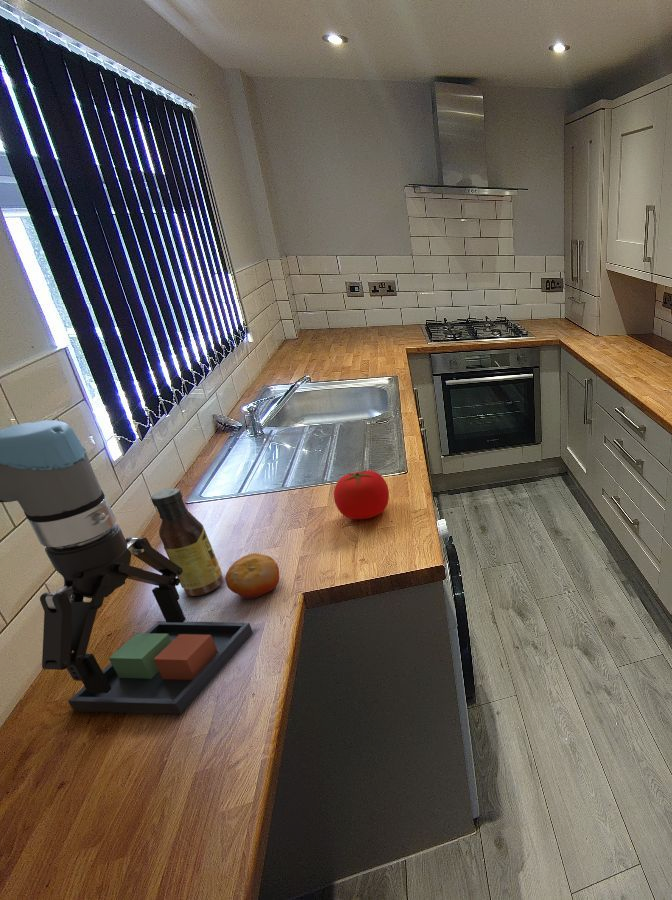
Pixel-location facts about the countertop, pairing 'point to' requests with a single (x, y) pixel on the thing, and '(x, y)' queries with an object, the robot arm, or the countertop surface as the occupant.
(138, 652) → the green block
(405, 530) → the countertop surface
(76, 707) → the tray
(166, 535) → the sauce bottle
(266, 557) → the fruit
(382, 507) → the tomato
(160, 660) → the reddish brown block
